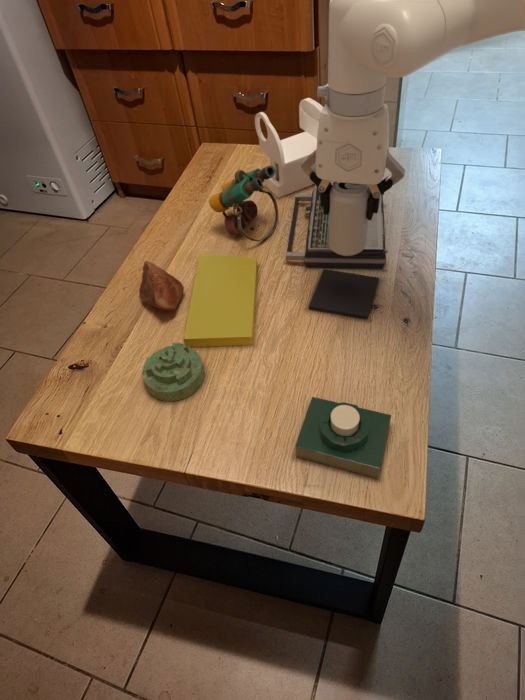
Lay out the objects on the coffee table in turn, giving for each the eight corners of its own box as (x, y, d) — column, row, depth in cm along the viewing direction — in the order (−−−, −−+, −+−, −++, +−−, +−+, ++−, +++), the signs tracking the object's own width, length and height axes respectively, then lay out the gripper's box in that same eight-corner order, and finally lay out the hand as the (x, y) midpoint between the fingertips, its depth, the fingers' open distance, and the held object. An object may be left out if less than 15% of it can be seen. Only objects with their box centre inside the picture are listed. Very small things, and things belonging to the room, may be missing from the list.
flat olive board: (253, 344, 86) (258, 259, 101) (251, 336, 84) (257, 250, 100) (186, 347, 87) (201, 261, 102) (183, 339, 85) (199, 253, 101)
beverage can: (332, 234, 86) (333, 172, 77) (368, 237, 85) (374, 174, 76) (325, 256, 82) (326, 193, 73) (363, 260, 81) (368, 196, 72)
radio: (388, 247, 92) (284, 246, 95) (385, 269, 96) (285, 267, 99) (384, 179, 107) (295, 180, 110) (382, 200, 111) (296, 200, 114)
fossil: (175, 313, 88) (144, 266, 84) (141, 330, 91) (109, 285, 87) (197, 288, 98) (171, 245, 95) (166, 304, 102) (139, 263, 98)
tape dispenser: (283, 203, 114) (279, 127, 101) (257, 180, 122) (250, 106, 108) (333, 183, 118) (335, 107, 104) (305, 162, 126) (303, 89, 112)
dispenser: (389, 425, 73) (393, 407, 69) (378, 478, 67) (381, 461, 64) (312, 407, 76) (311, 388, 72) (295, 456, 71) (294, 439, 67)
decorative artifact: (150, 357, 86) (142, 403, 79) (139, 330, 81) (130, 377, 74) (206, 352, 85) (202, 399, 79) (198, 325, 80) (194, 373, 74)
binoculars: (263, 223, 115) (228, 168, 108) (309, 207, 105) (273, 144, 98) (234, 258, 107) (194, 201, 100) (281, 243, 98) (240, 179, 91)
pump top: (361, 416, 69) (362, 408, 67) (355, 440, 67) (356, 432, 65) (334, 409, 70) (334, 401, 68) (327, 432, 68) (327, 425, 66)
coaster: (378, 280, 94) (379, 277, 93) (367, 319, 87) (367, 316, 87) (323, 271, 97) (323, 268, 96) (308, 309, 90) (308, 306, 90)
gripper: (285, 106, 65) (291, 219, 79) (418, 113, 60) (399, 233, 74) (301, 83, 70) (304, 194, 83) (425, 89, 65) (407, 206, 78)
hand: (349, 211), depth 78 cm, fingers closed on beverage can, 6 cm apart
